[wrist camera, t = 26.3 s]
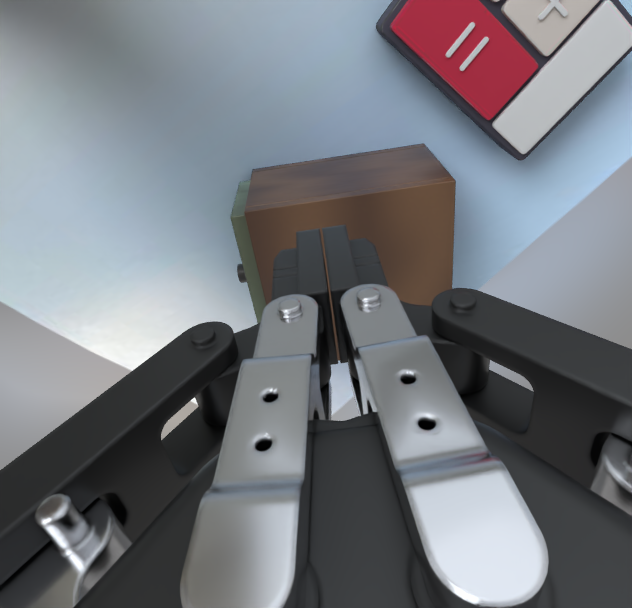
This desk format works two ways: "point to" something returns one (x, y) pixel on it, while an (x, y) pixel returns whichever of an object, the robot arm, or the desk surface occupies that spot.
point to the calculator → (511, 57)
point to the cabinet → (362, 214)
